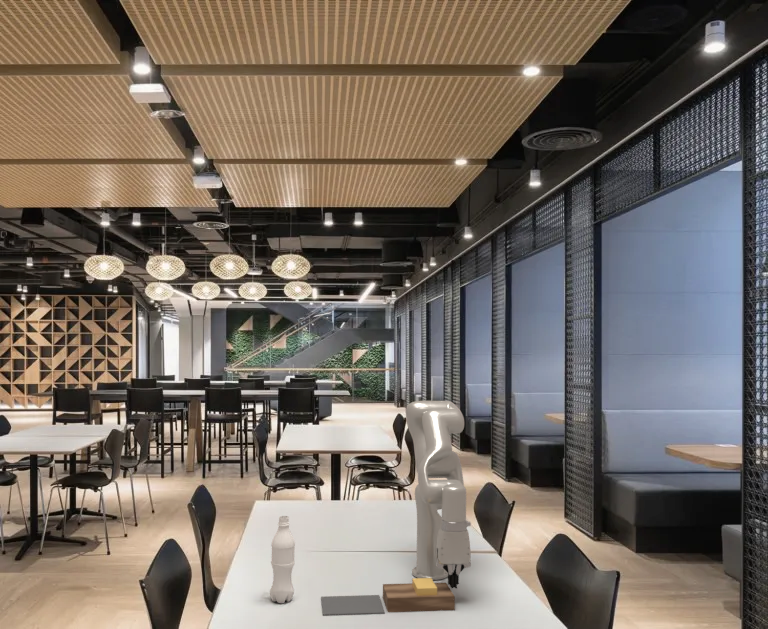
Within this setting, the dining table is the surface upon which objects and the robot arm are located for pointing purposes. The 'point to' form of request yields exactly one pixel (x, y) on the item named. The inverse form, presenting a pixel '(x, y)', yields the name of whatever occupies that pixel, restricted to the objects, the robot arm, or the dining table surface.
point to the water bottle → (282, 562)
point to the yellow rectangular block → (424, 586)
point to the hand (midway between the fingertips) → (453, 586)
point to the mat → (352, 605)
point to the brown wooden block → (417, 598)
